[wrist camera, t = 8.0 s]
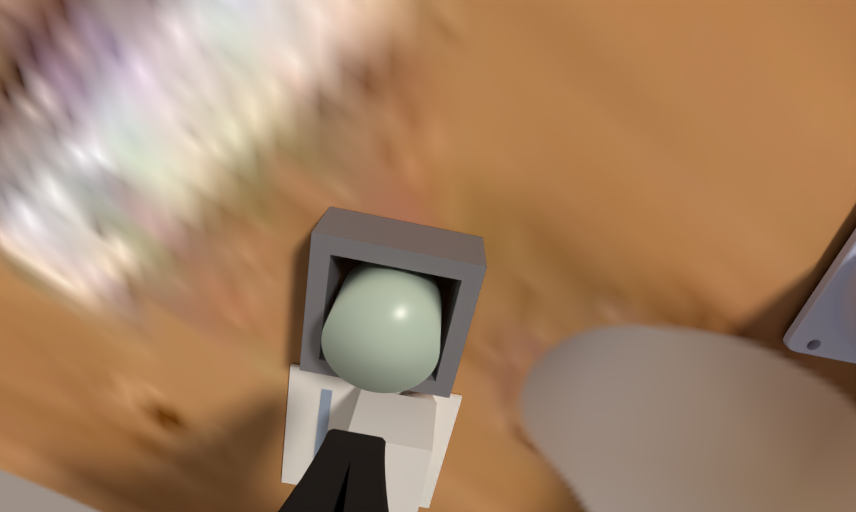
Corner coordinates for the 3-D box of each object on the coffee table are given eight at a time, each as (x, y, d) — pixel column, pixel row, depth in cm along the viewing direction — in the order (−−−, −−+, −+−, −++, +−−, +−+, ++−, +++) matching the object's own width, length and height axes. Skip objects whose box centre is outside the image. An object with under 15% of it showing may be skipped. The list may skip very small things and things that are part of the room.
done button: (451, 266, 17) (451, 309, 15) (431, 349, 19) (427, 402, 16) (347, 245, 17) (327, 285, 14) (336, 331, 19) (316, 381, 16)
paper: (461, 395, 21) (462, 398, 21) (428, 505, 25) (428, 509, 25) (291, 363, 21) (289, 366, 21) (282, 479, 25) (281, 483, 24)
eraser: (364, 377, 21) (346, 435, 18) (437, 391, 21) (432, 451, 18) (349, 491, 24) (332, 556, 21) (411, 503, 24) (403, 570, 21)
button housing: (482, 237, 18) (486, 266, 16) (449, 358, 20) (449, 398, 18) (329, 206, 18) (311, 232, 15) (316, 332, 20) (299, 370, 18)
